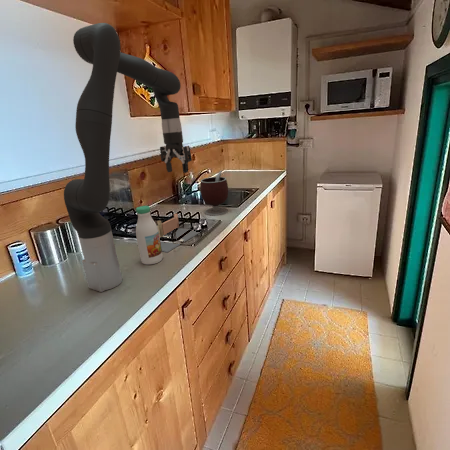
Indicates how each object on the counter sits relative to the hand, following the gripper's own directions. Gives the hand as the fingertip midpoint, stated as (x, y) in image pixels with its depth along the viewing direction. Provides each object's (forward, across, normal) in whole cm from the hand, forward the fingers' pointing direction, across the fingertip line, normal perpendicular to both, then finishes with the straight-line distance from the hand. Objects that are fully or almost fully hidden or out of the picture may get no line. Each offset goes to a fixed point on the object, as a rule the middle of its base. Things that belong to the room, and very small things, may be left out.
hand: (177, 172), depth 123 cm
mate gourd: (+27, -3, +29) cm, 40 cm away
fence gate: (+26, -6, -3) cm, 27 cm away
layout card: (+26, -1, -9) cm, 28 cm away
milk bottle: (+27, +6, -27) cm, 38 cm away
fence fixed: (+26, -6, -14) cm, 30 cm away
